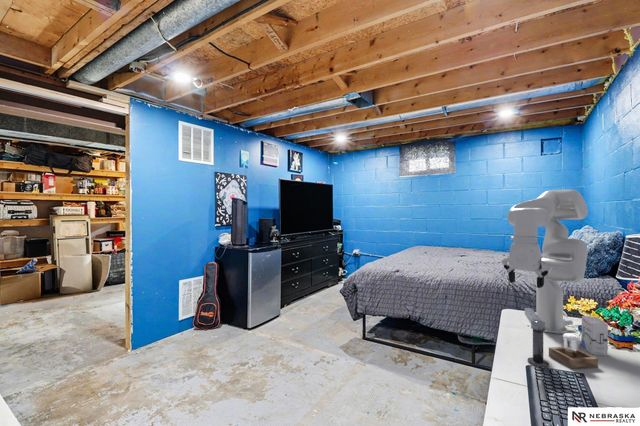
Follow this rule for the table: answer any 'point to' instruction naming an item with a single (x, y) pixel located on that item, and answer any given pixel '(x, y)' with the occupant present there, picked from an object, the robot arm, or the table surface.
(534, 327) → the lever
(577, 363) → the square wooden tray
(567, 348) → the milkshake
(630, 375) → the table surface
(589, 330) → the ink box
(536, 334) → the post
